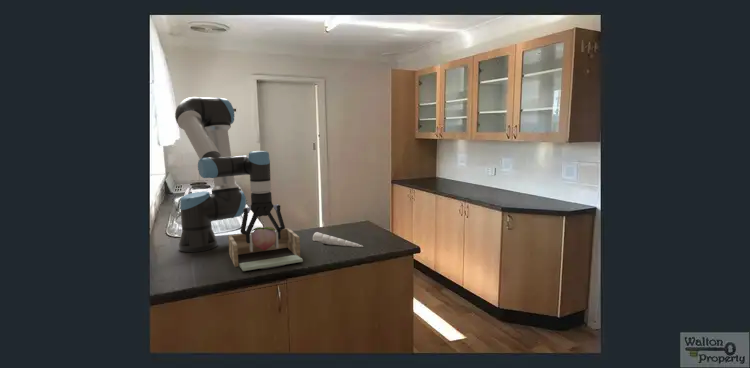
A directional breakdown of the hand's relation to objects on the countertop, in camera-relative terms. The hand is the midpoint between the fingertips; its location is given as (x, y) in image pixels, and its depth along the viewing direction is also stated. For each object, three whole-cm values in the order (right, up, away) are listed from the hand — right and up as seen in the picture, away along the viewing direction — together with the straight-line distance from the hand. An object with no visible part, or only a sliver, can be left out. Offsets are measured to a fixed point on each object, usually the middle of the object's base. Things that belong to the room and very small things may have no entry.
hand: (264, 249), depth 160 cm
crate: (0, -4, +1) cm, 4 cm away
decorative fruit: (0, 0, 0) cm, 0 cm away
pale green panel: (+4, -4, -7) cm, 8 cm away
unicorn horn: (+26, -1, +20) cm, 33 cm away
